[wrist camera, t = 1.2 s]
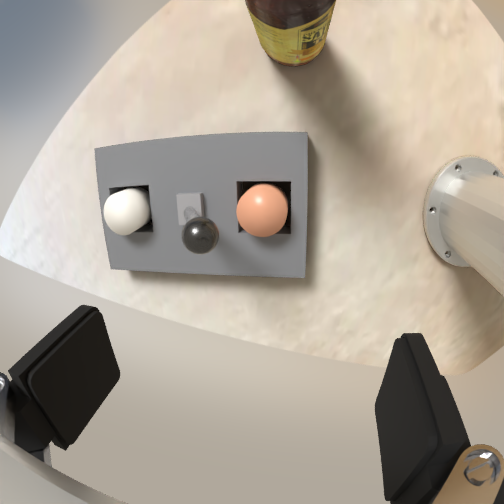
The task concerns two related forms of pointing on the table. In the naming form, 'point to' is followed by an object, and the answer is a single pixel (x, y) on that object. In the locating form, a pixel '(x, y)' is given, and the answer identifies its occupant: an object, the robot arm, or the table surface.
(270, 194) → the terracotta button
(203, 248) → the toggle lever
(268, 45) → the sauce bottle
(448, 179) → the robot arm
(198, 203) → the control panel
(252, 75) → the table surface
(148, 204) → the offwhite button
